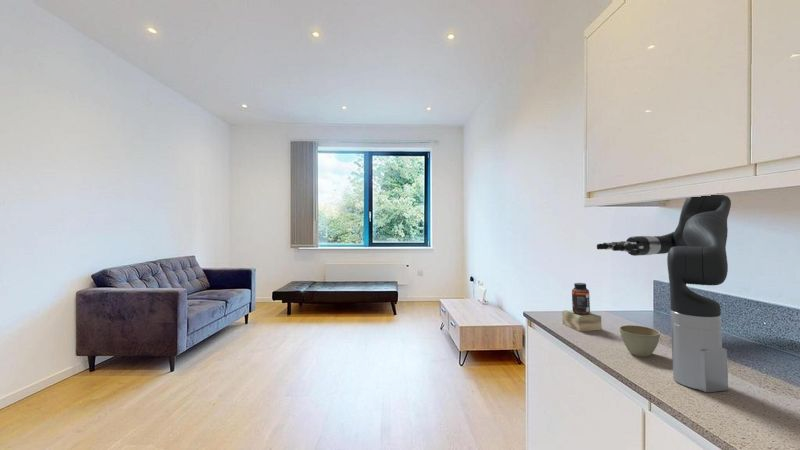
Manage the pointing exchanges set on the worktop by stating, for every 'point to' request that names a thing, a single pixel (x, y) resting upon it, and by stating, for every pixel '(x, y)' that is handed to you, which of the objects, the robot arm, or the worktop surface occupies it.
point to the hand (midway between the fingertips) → (605, 247)
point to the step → (582, 321)
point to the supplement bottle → (580, 299)
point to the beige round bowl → (639, 339)
